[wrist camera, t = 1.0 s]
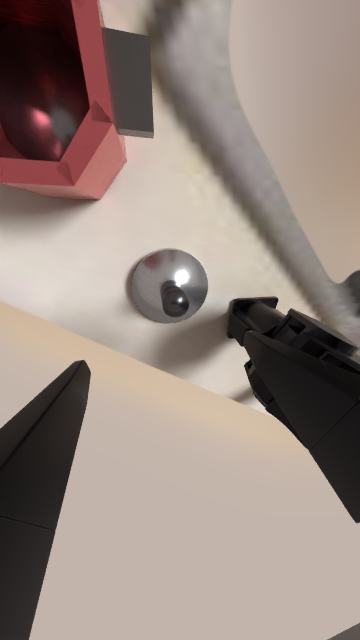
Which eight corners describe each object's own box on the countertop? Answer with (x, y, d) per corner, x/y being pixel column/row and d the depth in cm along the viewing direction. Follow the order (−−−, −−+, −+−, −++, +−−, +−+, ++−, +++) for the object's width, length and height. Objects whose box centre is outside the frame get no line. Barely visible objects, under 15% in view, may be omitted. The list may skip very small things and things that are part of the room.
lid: (208, 248, 18) (228, 256, 14) (201, 316, 23) (214, 338, 18) (126, 248, 17) (119, 256, 12) (137, 320, 21) (134, 346, 17)
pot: (145, 28, 10) (142, -161, 5) (154, 201, 15) (157, 191, 10) (-116, -26, 8) (-538, -424, 3) (-11, 194, 13) (-114, 176, 8)
